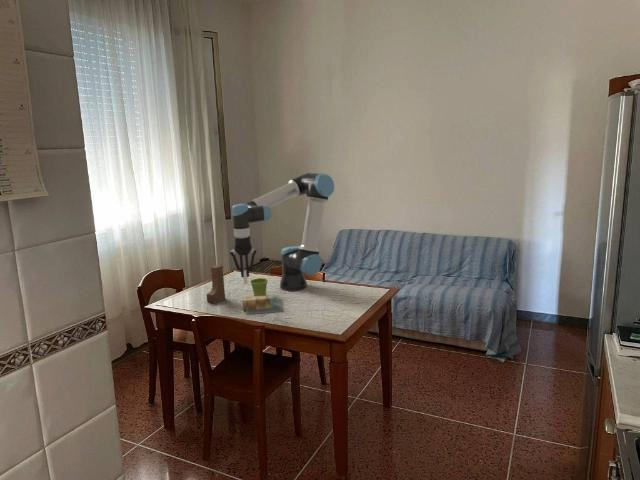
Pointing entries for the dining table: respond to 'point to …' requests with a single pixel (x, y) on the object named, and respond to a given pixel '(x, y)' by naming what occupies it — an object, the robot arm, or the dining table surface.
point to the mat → (268, 309)
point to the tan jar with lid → (258, 302)
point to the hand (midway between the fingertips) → (245, 283)
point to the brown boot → (216, 285)
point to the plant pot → (259, 286)
